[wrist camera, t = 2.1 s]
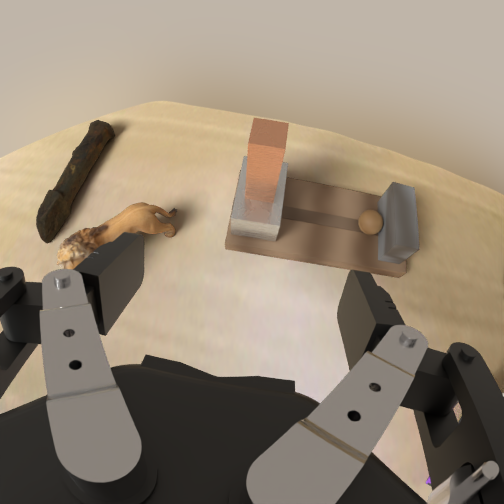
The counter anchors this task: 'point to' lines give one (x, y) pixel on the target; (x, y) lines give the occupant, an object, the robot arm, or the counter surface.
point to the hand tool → (71, 180)
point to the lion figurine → (113, 232)
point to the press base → (340, 228)
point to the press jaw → (261, 182)
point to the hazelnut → (370, 222)
